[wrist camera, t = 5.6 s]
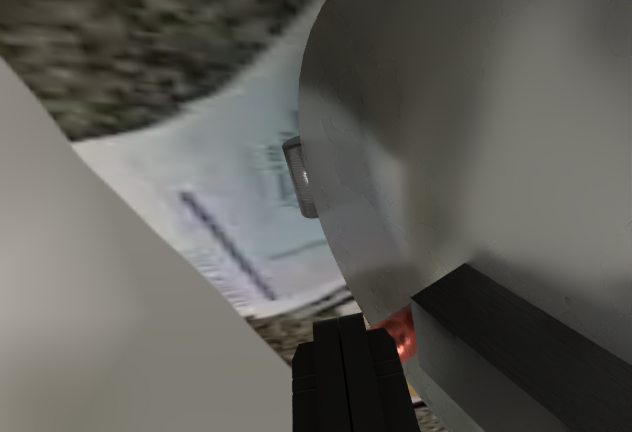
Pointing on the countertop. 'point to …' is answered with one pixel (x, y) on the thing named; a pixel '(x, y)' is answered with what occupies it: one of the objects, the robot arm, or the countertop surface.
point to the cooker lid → (481, 198)
